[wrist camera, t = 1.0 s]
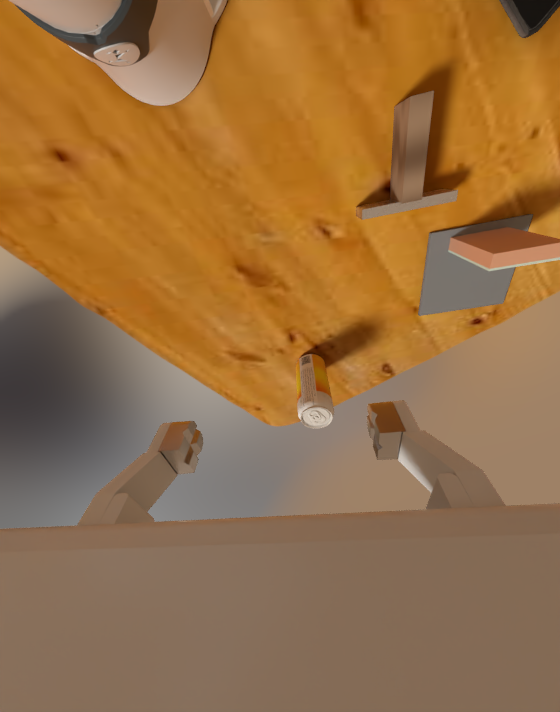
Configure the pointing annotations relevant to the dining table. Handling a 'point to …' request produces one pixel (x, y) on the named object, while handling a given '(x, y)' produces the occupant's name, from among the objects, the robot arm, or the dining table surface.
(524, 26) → the phone
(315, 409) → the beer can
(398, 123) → the walnut scraper
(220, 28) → the dining table surface
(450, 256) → the charcoal mat
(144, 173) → the dining table surface
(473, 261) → the terracotta tile
